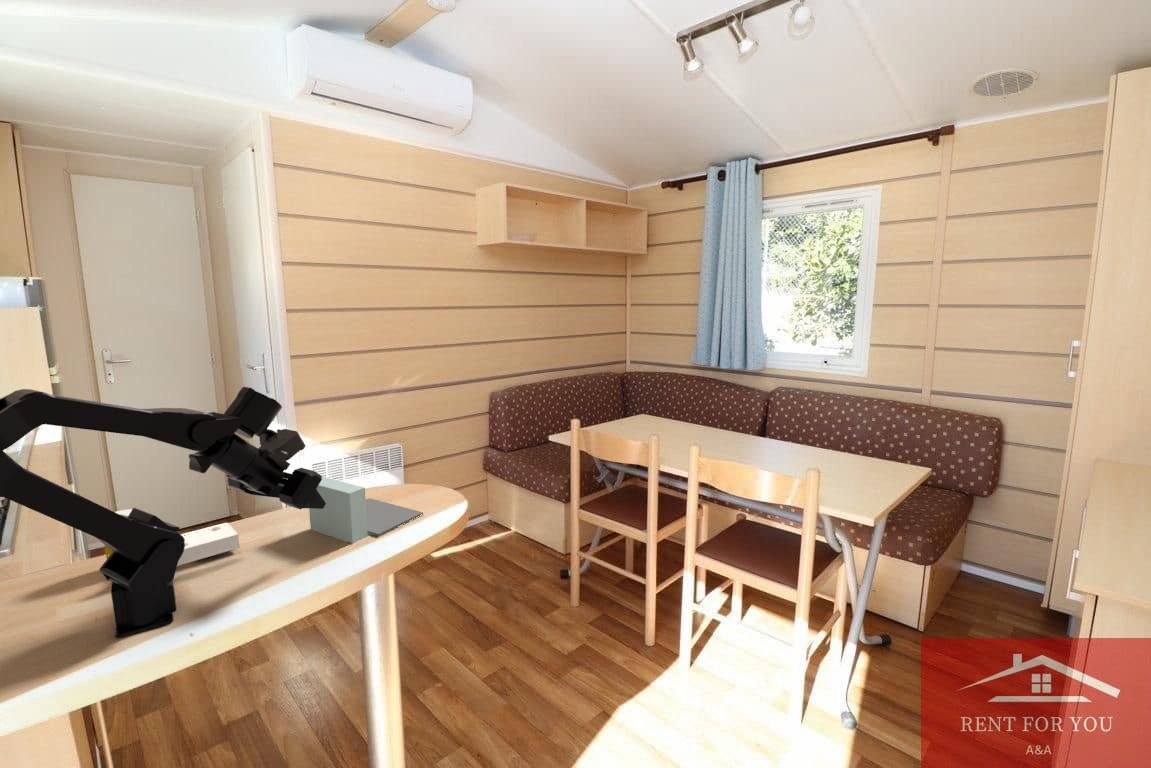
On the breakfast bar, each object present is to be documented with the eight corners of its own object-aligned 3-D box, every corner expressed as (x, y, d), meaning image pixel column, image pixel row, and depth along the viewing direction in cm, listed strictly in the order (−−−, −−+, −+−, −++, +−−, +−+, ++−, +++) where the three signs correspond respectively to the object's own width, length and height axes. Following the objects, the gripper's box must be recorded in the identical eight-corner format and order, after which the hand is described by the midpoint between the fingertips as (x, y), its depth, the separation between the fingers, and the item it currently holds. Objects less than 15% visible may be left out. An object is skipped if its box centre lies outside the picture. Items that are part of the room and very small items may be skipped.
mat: (378, 536, 108) (378, 533, 108) (323, 519, 115) (323, 517, 115) (423, 515, 118) (423, 512, 118) (369, 500, 126) (369, 498, 126)
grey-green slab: (352, 544, 105) (349, 493, 103) (310, 530, 111) (307, 482, 109) (367, 536, 108) (364, 487, 106) (326, 523, 114) (322, 476, 112)
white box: (151, 578, 92) (145, 535, 91) (143, 563, 97) (137, 522, 95) (240, 552, 101) (236, 513, 100) (228, 540, 106) (224, 502, 105)
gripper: (306, 425, 90) (366, 470, 102) (238, 412, 99) (299, 455, 111) (264, 487, 85) (332, 527, 96) (196, 467, 94) (265, 506, 105)
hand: (307, 501), depth 102 cm, fingers open, 9 cm apart
